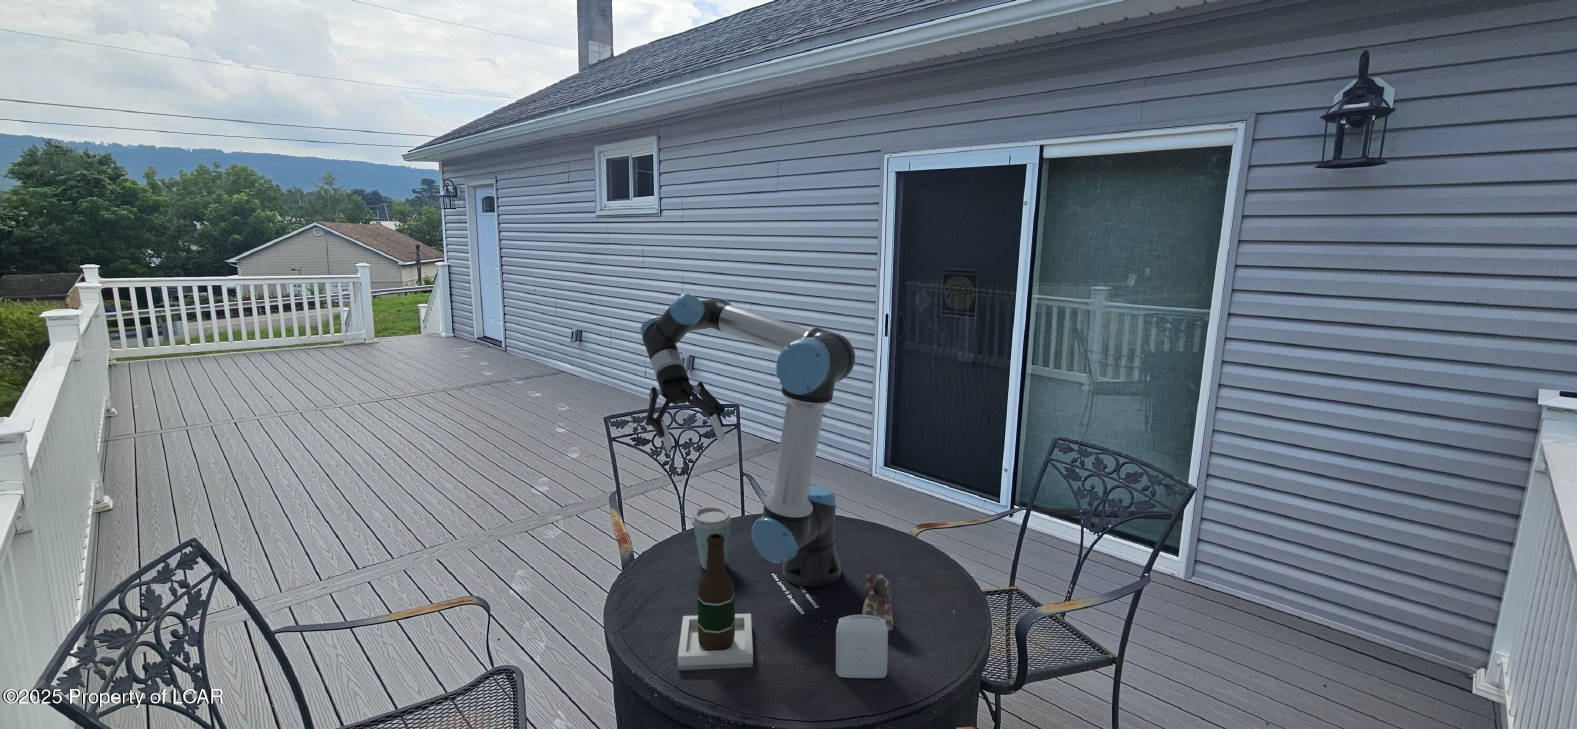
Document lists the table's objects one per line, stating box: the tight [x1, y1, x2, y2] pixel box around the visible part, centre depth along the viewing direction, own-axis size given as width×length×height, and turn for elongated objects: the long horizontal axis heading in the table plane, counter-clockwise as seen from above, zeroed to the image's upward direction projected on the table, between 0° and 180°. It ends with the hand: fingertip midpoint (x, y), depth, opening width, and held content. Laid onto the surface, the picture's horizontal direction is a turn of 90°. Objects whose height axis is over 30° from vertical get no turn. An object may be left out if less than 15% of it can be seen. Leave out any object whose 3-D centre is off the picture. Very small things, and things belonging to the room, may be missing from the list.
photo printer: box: [835, 614, 889, 679], centre depth 132 cm, size 10×4×12 cm, turn 88°
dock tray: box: [677, 613, 754, 671], centre depth 142 cm, size 15×15×3 cm
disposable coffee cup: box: [690, 505, 732, 571], centre depth 177 cm, size 11×11×15 cm
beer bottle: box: [697, 534, 736, 651], centre depth 140 cm, size 8×8×24 cm
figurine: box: [861, 574, 894, 632], centre depth 150 cm, size 7×7×12 cm
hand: (696, 443), depth 159 cm, fingers open, 13 cm apart
